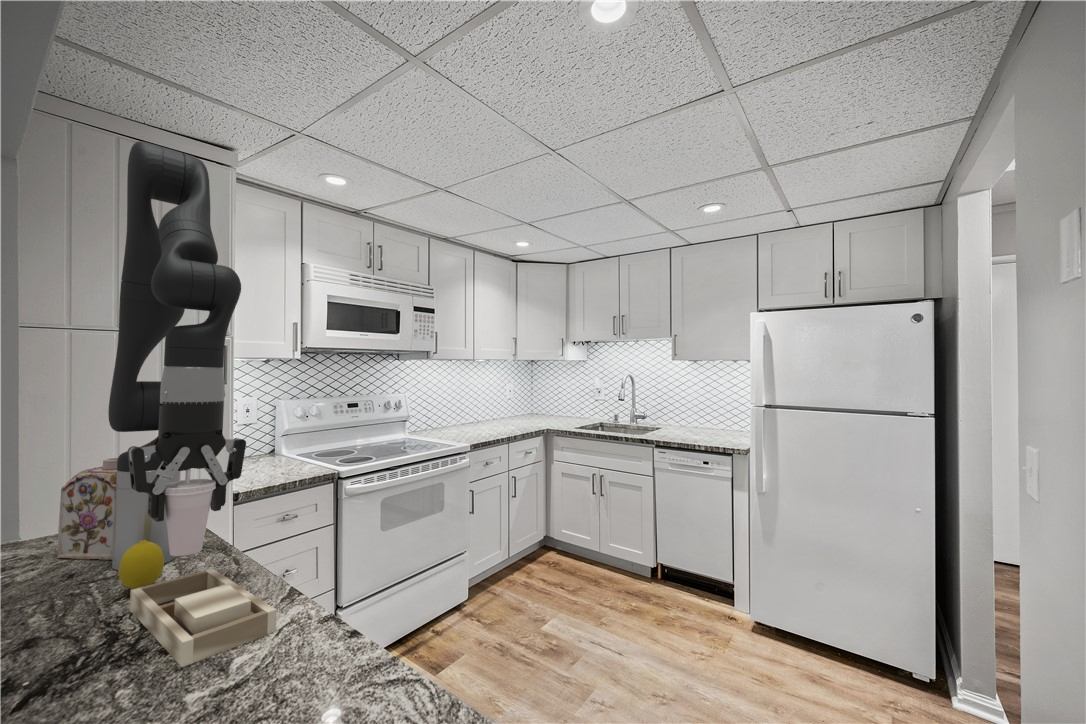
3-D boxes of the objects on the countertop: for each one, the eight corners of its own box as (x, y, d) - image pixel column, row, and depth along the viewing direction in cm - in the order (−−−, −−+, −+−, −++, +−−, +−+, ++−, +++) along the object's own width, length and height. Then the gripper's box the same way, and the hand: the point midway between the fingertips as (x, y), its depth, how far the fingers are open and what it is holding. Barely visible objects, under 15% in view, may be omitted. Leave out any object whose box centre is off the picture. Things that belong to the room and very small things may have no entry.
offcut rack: (129, 619, 67) (130, 589, 67) (211, 594, 75) (212, 568, 75) (181, 679, 54) (183, 642, 54) (275, 641, 62) (276, 609, 62)
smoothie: (146, 560, 65) (152, 457, 65) (173, 544, 71) (178, 450, 72) (199, 558, 66) (204, 456, 67) (221, 542, 72) (225, 449, 73)
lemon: (110, 601, 72) (113, 547, 73) (126, 587, 77) (128, 537, 78) (155, 595, 74) (158, 543, 75) (168, 582, 80) (170, 533, 80)
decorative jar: (167, 540, 100) (171, 454, 101) (115, 561, 88) (120, 463, 89) (112, 539, 101) (116, 453, 101) (53, 559, 89) (58, 462, 90)
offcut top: (174, 614, 62) (174, 598, 62) (227, 598, 66) (227, 583, 67) (194, 635, 57) (195, 618, 57) (250, 616, 61) (250, 600, 62)
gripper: (237, 396, 77) (233, 501, 77) (121, 398, 66) (115, 521, 65) (257, 398, 73) (253, 509, 72) (136, 401, 61) (130, 532, 61)
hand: (187, 514), depth 69 cm, fingers closed on smoothie, 6 cm apart
